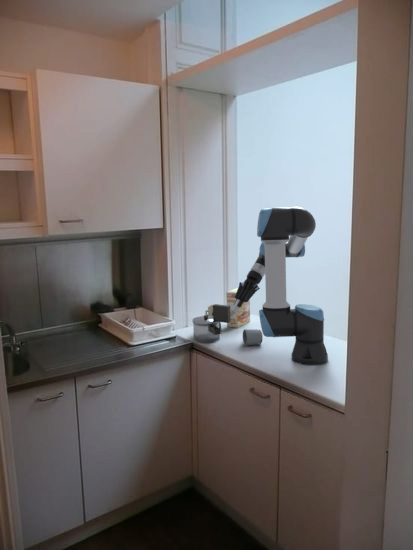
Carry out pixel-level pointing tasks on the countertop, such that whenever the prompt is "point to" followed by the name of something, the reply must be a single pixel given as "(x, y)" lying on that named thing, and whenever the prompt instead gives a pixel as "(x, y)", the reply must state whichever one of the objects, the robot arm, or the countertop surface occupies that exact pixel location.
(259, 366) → the countertop surface
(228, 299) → the coffeecake box
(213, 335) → the pot
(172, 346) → the countertop surface
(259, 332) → the ceramic mug
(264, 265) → the robot arm
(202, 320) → the lid
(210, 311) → the character mug
